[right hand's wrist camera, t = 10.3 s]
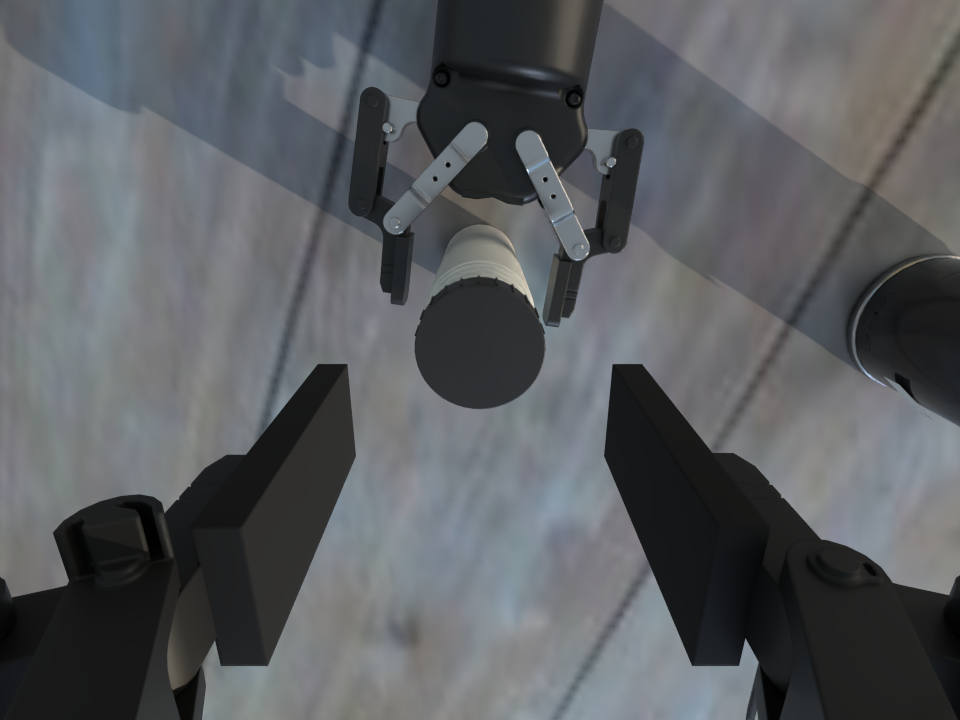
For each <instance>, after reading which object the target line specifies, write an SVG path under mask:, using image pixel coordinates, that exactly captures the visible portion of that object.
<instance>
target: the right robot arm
mask: <svg viewBox="0 0 960 720" xmlns="http://www.w3.org/2000/svg"><path fill="white" fill-rule="evenodd" d="M355 457H356V453H355V442H354V431H353V421H352V410H351V399H350V388H349V378H348V367H347V364H318V365H317V366H316V367H315V369H314V370H313V371H312V372H311V374H310V375H309V376H308V377H307V379H306V380H305V381H304V383H303V384H302V385H301V386H300V388H299V389H298V390H297V391H296V393H295V394H294V395H293V396H292V398H291V399H290V400H289V401H288V403H287V404H286V405H285V406H284V408H283V409H282V410H281V412H280V413H279V414H278V415H277V417H276V418H275V419H274V420H273V422H272V423H271V424H270V425H269V427H268V428H267V429H266V430H265V432H264V433H263V434H262V435H261V437H260V438H259V439H258V440H257V442H256V443H255V444H254V446H253V447H252V448H251V449H250V451H249V452H248V453H247V454H246V455H226V456H224V457H223V458H221V459H219V460H218V461H216V462H214V463H213V464H211V465H209V466H208V467H206V468H205V469H204V470H203V471H202V472H201V473H200V474H199V476H198V477H197V478H196V479H195V480H194V481H193V482H192V483H191V487H188V488H187V489H186V490H185V491H184V492H183V493H182V495H181V496H180V498H179V500H176V501H175V502H174V504H173V505H172V506H171V507H170V508H169V509H168V510H167V511H166V512H165V514H164V510H163V506H162V503H161V502H160V501H159V500H157V499H156V498H154V497H151V496H145V495H128V496H119V497H115V498H112V499H108V500H104V501H100V502H98V503H96V504H93V505H91V506H89V507H86V508H84V509H82V510H80V511H78V512H77V513H75V514H73V515H72V516H70V517H69V518H67V519H66V520H64V521H63V522H62V523H61V524H60V525H59V527H58V528H57V529H56V530H55V531H54V532H53V534H54V537H55V540H56V543H57V546H58V549H59V552H60V555H61V558H62V561H63V564H64V567H65V570H66V573H67V576H68V579H69V582H68V584H67V586H63V587H59V588H54V589H50V590H45V591H40V592H36V593H31V594H27V595H22V596H17V597H13V598H12V597H11V595H10V592H9V590H8V587H7V585H6V582H5V580H4V579H2V578H1V577H0V720H202V714H203V705H204V697H205V689H206V684H205V676H204V671H203V667H202V662H203V661H204V659H205V657H206V655H207V653H208V652H209V650H210V648H211V646H212V644H213V643H214V641H215V642H216V646H217V650H218V655H219V659H220V663H221V666H268V664H269V662H270V659H271V657H272V655H273V652H274V650H275V647H276V645H277V643H278V640H279V638H280V636H281V633H282V631H283V628H284V626H285V624H286V621H287V619H288V616H289V614H290V612H291V609H292V607H293V605H294V602H295V600H296V597H297V595H298V593H299V590H300V588H301V585H302V583H303V581H304V578H305V576H306V574H307V571H308V569H309V566H310V564H311V562H312V559H313V557H314V554H315V552H316V550H317V547H318V545H319V543H320V540H321V538H322V535H323V533H324V531H325V528H326V526H327V523H328V521H329V519H330V516H331V514H332V512H333V509H334V507H335V504H336V502H337V500H338V497H339V495H340V493H341V490H342V488H343V485H344V483H345V481H346V478H347V476H348V473H349V471H350V469H351V466H352V464H353V462H354V459H355ZM604 457H605V459H606V462H607V464H608V466H609V469H610V471H611V473H612V476H613V478H614V481H615V483H616V485H617V488H618V490H619V493H620V495H621V497H622V500H623V502H624V504H625V507H626V509H627V512H628V514H629V516H630V519H631V521H632V524H633V526H634V528H635V531H636V533H637V535H638V538H639V540H640V543H641V545H642V547H643V550H644V552H645V554H646V557H647V559H648V562H649V564H650V566H651V569H652V571H653V574H654V576H655V578H656V581H657V583H658V585H659V588H660V590H661V593H662V595H663V597H664V600H665V602H666V605H667V607H668V609H669V612H670V614H671V616H672V619H673V621H674V624H675V626H676V628H677V631H678V633H679V636H680V638H681V640H682V643H683V645H684V647H685V650H686V652H687V655H688V657H689V659H690V662H691V664H692V666H739V663H740V659H741V655H742V650H743V646H744V642H745V638H746V640H747V642H748V643H749V645H750V647H751V649H752V651H753V652H754V654H755V656H756V658H757V660H758V661H759V663H758V667H757V671H756V676H755V680H754V684H753V688H752V692H751V696H750V700H749V704H748V708H747V714H746V720H754V718H755V715H756V711H757V712H758V720H960V576H958V577H957V578H956V579H955V582H954V585H953V587H952V590H951V592H950V595H945V594H940V593H936V592H931V591H926V590H922V589H917V588H912V587H908V586H903V585H899V584H895V583H892V581H891V580H890V578H889V577H888V576H887V574H886V573H885V572H884V570H883V569H882V568H881V567H880V566H879V565H877V564H876V563H875V562H873V561H872V560H871V559H869V558H868V557H867V556H865V555H863V554H861V553H859V552H857V551H855V550H853V549H851V548H849V547H847V546H844V545H841V544H838V543H834V542H831V541H828V540H821V539H820V538H819V537H818V536H817V534H816V533H815V532H814V531H813V530H812V529H811V528H810V527H809V526H808V524H807V523H806V522H805V521H804V520H803V519H802V518H801V517H800V516H799V514H798V513H797V512H796V511H795V510H794V509H793V508H792V507H791V506H790V504H789V503H788V502H787V501H786V500H785V499H784V498H781V494H780V493H779V492H778V491H777V490H776V489H775V488H774V487H773V485H770V484H769V481H768V480H767V479H766V478H765V477H764V475H763V474H762V473H761V472H760V471H759V470H758V469H757V468H756V467H755V466H754V465H752V464H751V463H749V462H747V461H746V460H744V459H742V458H741V457H739V456H737V455H736V454H734V453H712V452H711V451H710V449H709V448H708V447H707V446H706V444H705V443H704V442H703V440H702V439H701V438H700V437H699V435H698V434H697V433H696V432H695V430H694V429H693V428H692V427H691V425H690V424H689V423H688V422H687V420H686V419H685V418H684V417H683V415H682V414H681V413H680V412H679V410H678V409H677V408H676V406H675V405H674V404H673V403H672V401H671V400H670V399H669V398H668V396H667V395H666V394H665V393H664V391H663V390H662V389H661V388H660V386H659V385H658V384H657V383H656V381H655V380H654V379H653V377H652V376H651V375H650V374H649V372H648V371H647V370H646V369H645V367H644V366H643V365H642V364H613V367H612V378H611V388H610V399H609V410H608V421H607V431H606V442H605V453H604Z"/></svg>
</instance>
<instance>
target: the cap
mask: <svg viewBox="0 0 960 720" xmlns="http://www.w3.org/2000/svg"><path fill="white" fill-rule="evenodd" d="M538 318H539V315H538V312H537V310H536V308H534V307H533V306H532V304H531V303H530V301H529V300H528V297H527V295H526V294H525V295H524V294H523V293H521V292H520V291H519V290H518V289H517V288H515V287H514V285H513V284H511V285H510V284H508V283H506V282H504V281H501V280H498V278H497V277H495V279H494V278H489V277H480V275H478V277H471V278H466V279H463V278H460V280H459V281H456V282H454V283H452V284H450V285H448V286H447V285H445V286H444V289H442V290H441V291H440V292H439V293H437V294H436V295H435V296H432V298H431V301H430V303H429V304H428V306H427V307H426V309H425V310H424V309H423V312H422V314H421V317H420V320H421V321H420V324H419V325H418V328H417V330H416V333H415V336H416V339H415V356H416V361H417V365H418V368H419V370H420V372H421V375H422V376H423V378H424V380H425V381H426V382H427V384H428V385H429V386H430V387H431V388H432V389H433V390H434V391H435V392H436V393H437V394H438V395H439V396H441V397H442V398H444V399H445V400H447V401H449V402H451V403H453V404H456V405H459V406H462V407H466V408H472V409H488V408H494V407H498V406H501V405H504V404H507V403H509V402H511V401H513V400H515V399H516V398H518V397H519V396H521V395H522V394H523V393H524V392H526V390H527V389H528V388H529V387H530V386H531V385H532V384H533V382H534V381H535V380H536V378H537V376H538V374H539V373H540V370H541V368H542V365H543V361H544V356H545V339H544V334H545V332H544V329H543V326H542V324H541V323H540V321H539V319H538Z"/></svg>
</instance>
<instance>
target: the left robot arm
mask: <svg viewBox="0 0 960 720" xmlns="http://www.w3.org/2000/svg"><path fill="white" fill-rule="evenodd" d="M602 4H603V0H438V8H437V18H436V28H435V39H434V49H433V59H432V70H431V79H430V83H429V87H428V89H427V91H426V94H425V95H424V97H423V98H422V100H421V101H420V102H416V101H412V100H407V99H403V98H398V97H394V96H389V95H386V94H385V93H384V92H382V91H381V90H379V89H378V88H375V87H369V88H367V89H365V90H364V91H363V92H362V94H361V97H360V105H359V114H358V123H357V132H356V140H355V149H354V158H353V167H352V175H351V184H350V193H349V203H348V204H349V208H350V210H351V212H352V213H353V214H355V215H357V216H362V217H364V218H366V219H368V220H370V221H372V222H374V223H375V224H377V225H378V226H379V227H380V228H381V230H382V232H383V250H382V265H381V276H380V284H381V287H382V290H383V292H387V293H391V304H396V305H404V304H405V303H406V301H407V298H408V292H409V282H410V272H411V261H412V251H413V241H414V233H412V232H410V229H411V224H412V223H413V222H414V220H415V219H416V218H417V217H418V216H419V215H420V214H421V213H422V212H423V211H424V210H425V209H426V208H427V207H428V206H429V205H430V204H431V202H432V201H433V200H434V199H435V198H436V197H437V196H438V195H439V194H440V193H441V192H442V191H443V190H444V189H445V188H446V187H447V186H448V185H449V186H450V187H451V189H452V190H454V191H455V192H456V193H458V194H460V195H462V197H466V198H472V199H482V198H490V197H494V198H496V199H498V200H500V201H503V202H505V203H507V204H513V205H520V206H523V204H527V203H530V202H533V201H534V200H537V202H538V204H539V206H540V208H541V210H542V212H543V213H544V215H545V217H546V219H547V220H548V222H549V224H550V226H551V228H552V230H553V232H554V234H555V236H556V238H557V240H558V242H559V244H560V248H559V253H558V254H554V256H553V261H552V266H551V272H550V277H549V282H548V288H547V293H546V298H545V304H544V309H543V321H544V323H545V325H546V326H553V327H559V324H560V320H561V317H563V318H569V317H570V315H571V314H572V312H573V311H574V308H575V303H576V298H577V294H578V289H579V284H580V279H581V275H582V270H583V266H584V264H585V262H586V261H587V260H588V259H589V258H590V257H592V256H595V255H600V254H604V253H613V254H615V253H619V252H621V251H622V250H623V249H624V248H625V246H626V243H627V237H628V231H629V225H630V220H631V214H632V208H633V202H634V197H635V191H636V185H637V179H638V174H639V168H640V162H641V156H642V150H643V145H644V137H643V135H642V133H641V132H640V131H639V130H637V129H624V130H620V131H612V130H600V129H589V128H587V126H586V122H585V118H584V99H585V94H586V89H587V83H588V78H589V73H590V68H591V62H592V57H593V52H594V46H595V41H596V36H597V31H598V25H599V20H600V15H601V10H602ZM412 123H417V125H418V128H419V130H420V132H421V134H422V136H423V138H424V140H425V142H426V144H427V146H428V148H429V149H430V151H431V153H432V155H433V157H434V159H435V160H434V161H433V163H432V164H431V165H430V166H429V167H428V168H427V169H426V170H425V171H424V172H423V173H422V175H421V176H420V177H419V178H418V179H417V180H416V181H415V182H414V183H413V184H412V186H411V187H410V188H409V189H408V191H407V192H406V193H405V194H404V195H403V196H402V197H401V198H400V199H399V200H398V202H397V203H394V202H392V201H390V200H388V199H386V198H385V197H383V196H382V190H383V182H384V175H385V167H386V160H387V152H388V145H389V142H397V141H399V140H400V139H401V138H402V136H403V134H404V131H405V129H406V127H407V126H408V125H410V124H412ZM584 149H586V150H588V151H589V152H590V153H591V155H592V158H593V167H594V169H595V171H596V172H598V173H600V174H603V179H602V185H601V192H600V198H599V205H598V212H597V218H596V225H595V228H591V229H587V230H582V228H581V226H580V224H579V222H578V220H577V218H576V215H575V213H574V209H573V207H572V205H571V203H570V201H569V198H568V196H567V194H566V192H565V190H564V188H563V186H562V184H561V182H560V180H559V178H558V177H559V176H560V175H561V174H562V173H563V172H564V171H565V170H566V169H567V168H568V167H569V166H570V165H571V164H572V163H573V162H574V161H575V160H576V159H577V157H578V156H579V155H580V154H581V153H582V152H583V150H584ZM847 344H848V350H849V353H850V356H851V358H852V361H853V362H854V364H855V365H856V367H857V368H858V369H859V370H860V371H861V372H862V373H863V374H864V375H866V376H867V377H869V378H870V379H872V380H874V381H876V382H877V383H879V384H882V385H884V386H887V387H889V388H891V389H893V390H895V391H897V392H898V393H900V394H901V395H902V396H903V397H904V398H905V399H906V400H907V401H908V402H909V403H910V404H911V406H912V407H913V408H914V409H915V410H916V411H918V412H920V413H921V414H923V415H925V416H927V417H928V418H930V417H929V415H928V414H927V413H926V412H925V411H924V410H923V409H922V408H921V407H920V406H919V405H921V406H923V407H925V408H927V409H929V410H930V411H932V412H934V413H936V414H938V415H939V416H941V417H943V418H945V419H947V420H948V421H950V422H952V423H954V424H956V425H957V426H959V427H960V257H957V256H952V255H947V254H929V255H923V256H918V257H915V258H911V259H909V260H906V261H904V262H902V263H899V264H897V265H896V266H894V267H892V268H890V269H889V270H888V271H886V272H885V273H883V274H882V275H881V276H880V277H878V278H877V279H876V280H875V281H874V282H873V283H872V284H871V285H870V286H869V287H868V288H867V289H866V291H865V292H864V293H863V295H862V296H861V298H860V299H859V301H858V302H857V304H856V306H855V308H854V310H853V312H852V315H851V318H850V321H849V325H848V331H847ZM917 403H918V404H919V405H918V404H917ZM930 419H931V418H930Z"/></svg>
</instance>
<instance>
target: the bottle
mask: <svg viewBox="0 0 960 720" xmlns="http://www.w3.org/2000/svg"><path fill="white" fill-rule="evenodd" d="M478 275H480V277H489V278H494V279H495V277H497V278H498V280H501V281H504V282H506V283H508V284H510V285H511V284H513V285H514V287H515V288H517V289H518V290H519V291H520V292H521V293H523V294H524V295H525V294H526V295H527V297H528V300H529V301H530V303H531V304H532V306H533V307H534V304H533V299H532V296H531V293H530V291H529V288H528V285H527V283H526V280H525V277H524V275H523V272H522V269H521V267H520V264H519V262H518V259H517V256H516V254H515V251H514V248H513V246H512V244H511V242H510V240H509V239H508V238H507V236H506V235H505V234H504V233H502V232H501V231H500V230H498V229H496V228H494V227H492V226H488V225H481V224H479V225H472V226H468V227H466V228H464V229H462V230H460V231H459V232H458V233H456V234H455V235H454V236H453V238H452V239H451V240H450V242H449V244H448V246H447V248H446V251H445V254H444V256H443V259H442V262H441V264H440V267H439V269H438V272H437V275H436V277H435V280H434V283H433V285H432V288H431V291H430V293H429V296H428V299H427V304H426V307H427V306H428V304H429V303H430V301H431V298H432V296H435V295H436V294H437V293H439V292H440V291H441V290H442V289H444V286H445V285H447V286H448V285H450V284H452V283H454V282H456V281H459V280H460V278H463V279H466V278H471V277H478Z"/></svg>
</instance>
